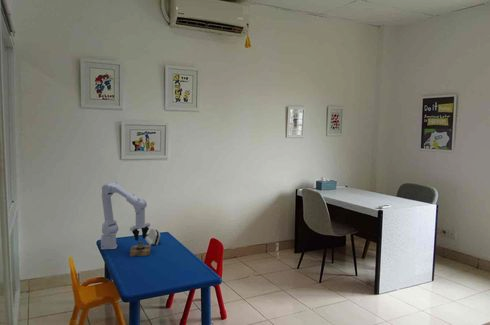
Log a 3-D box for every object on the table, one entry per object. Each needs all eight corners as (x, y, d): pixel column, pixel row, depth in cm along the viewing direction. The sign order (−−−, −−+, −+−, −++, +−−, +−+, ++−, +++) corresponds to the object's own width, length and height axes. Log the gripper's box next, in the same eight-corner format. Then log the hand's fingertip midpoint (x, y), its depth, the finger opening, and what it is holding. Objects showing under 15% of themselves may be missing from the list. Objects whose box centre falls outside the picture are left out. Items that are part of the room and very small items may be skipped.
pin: (137, 253, 243) (137, 243, 243) (138, 251, 247) (138, 241, 246) (142, 253, 244) (142, 243, 243) (143, 251, 247) (143, 241, 247)
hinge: (144, 239, 274) (149, 226, 275) (151, 240, 276) (155, 227, 277) (150, 245, 259) (155, 232, 260) (156, 247, 262) (161, 233, 262)
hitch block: (129, 256, 238) (129, 251, 238) (132, 250, 250) (132, 245, 250) (149, 255, 240) (149, 250, 240) (150, 249, 252) (150, 245, 252)
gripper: (135, 222, 235) (135, 243, 236) (153, 217, 247) (153, 237, 248) (127, 220, 239) (128, 241, 240) (146, 216, 251) (146, 235, 252)
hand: (140, 239), depth 244 cm, fingers open, 5 cm apart
